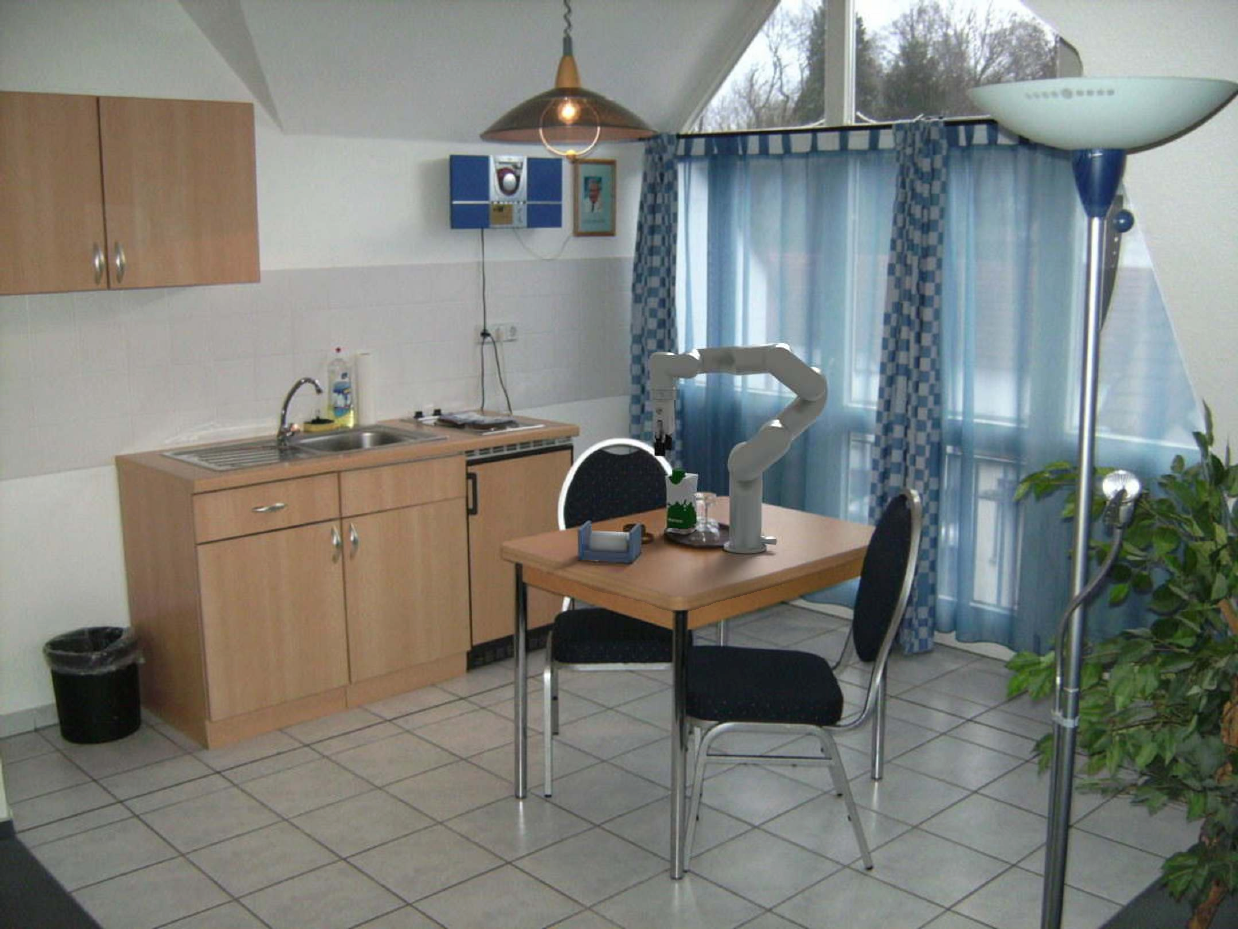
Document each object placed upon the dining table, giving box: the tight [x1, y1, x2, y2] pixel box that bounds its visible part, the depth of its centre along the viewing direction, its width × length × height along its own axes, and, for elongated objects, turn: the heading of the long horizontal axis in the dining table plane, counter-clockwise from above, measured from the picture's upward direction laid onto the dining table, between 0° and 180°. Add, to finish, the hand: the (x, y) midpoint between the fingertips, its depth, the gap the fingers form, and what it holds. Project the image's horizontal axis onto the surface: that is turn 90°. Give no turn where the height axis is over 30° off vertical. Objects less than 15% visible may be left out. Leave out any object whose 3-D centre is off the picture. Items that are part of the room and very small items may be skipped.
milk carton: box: [664, 468, 699, 530], centre depth 393 cm, size 9×9×20 cm
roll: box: [589, 530, 629, 553], centre depth 366 cm, size 12×6×6 cm, turn 77°
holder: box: [577, 520, 642, 564], centre depth 366 cm, size 16×11×9 cm
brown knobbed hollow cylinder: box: [622, 522, 655, 549], centre depth 382 cm, size 18×20×6 cm
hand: (663, 452), depth 371 cm, fingers open, 9 cm apart
